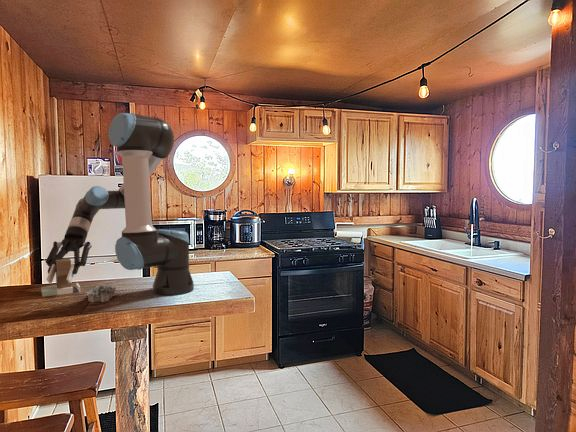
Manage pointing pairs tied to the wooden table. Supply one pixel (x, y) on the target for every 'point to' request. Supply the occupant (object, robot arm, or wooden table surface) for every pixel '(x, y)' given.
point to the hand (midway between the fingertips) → (58, 281)
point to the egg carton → (101, 293)
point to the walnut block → (62, 273)
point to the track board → (58, 290)
